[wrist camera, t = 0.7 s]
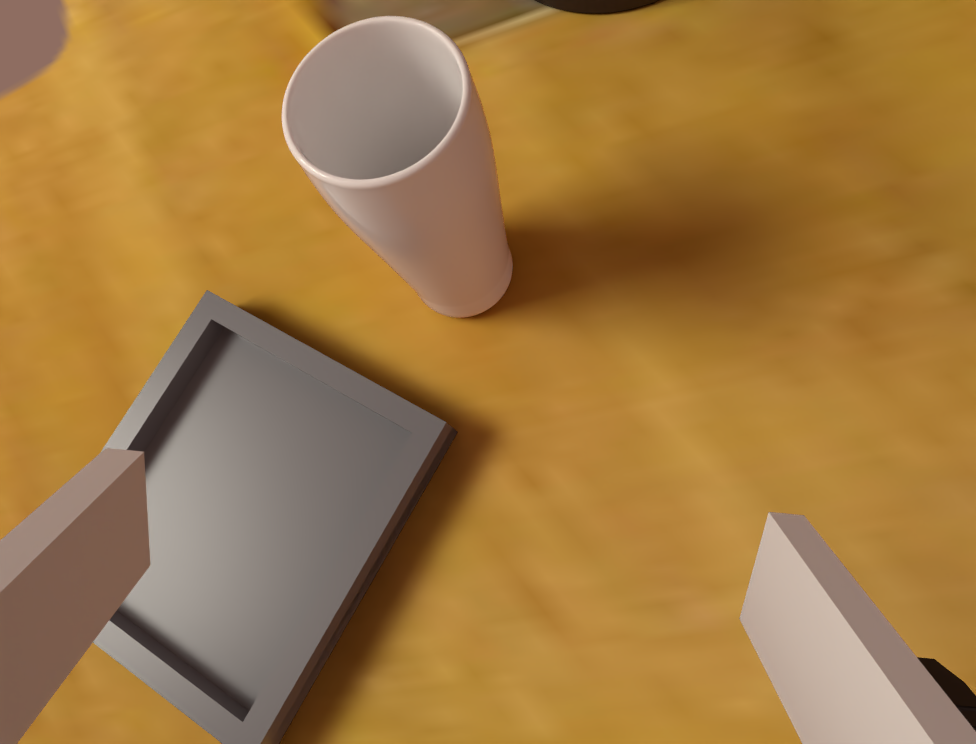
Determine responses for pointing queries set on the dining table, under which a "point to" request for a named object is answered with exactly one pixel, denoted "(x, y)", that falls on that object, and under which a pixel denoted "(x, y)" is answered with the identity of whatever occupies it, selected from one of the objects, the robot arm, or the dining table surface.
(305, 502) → the serving tray
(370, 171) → the drinking glass
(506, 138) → the dining table surface
